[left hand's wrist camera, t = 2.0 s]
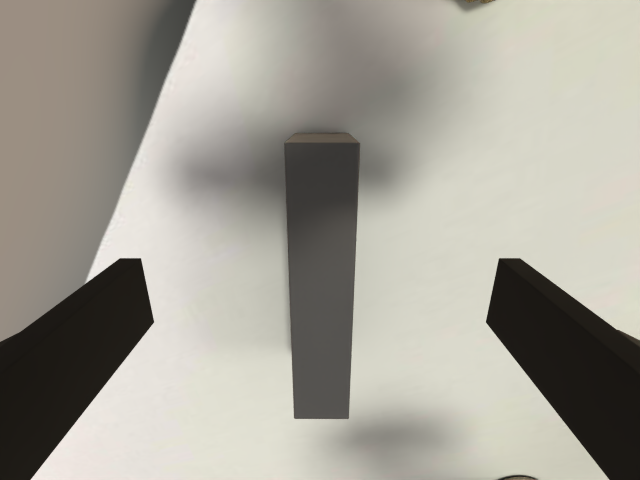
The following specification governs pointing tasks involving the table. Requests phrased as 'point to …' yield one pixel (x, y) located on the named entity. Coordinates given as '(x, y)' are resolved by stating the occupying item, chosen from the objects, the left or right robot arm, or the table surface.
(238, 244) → the table surface
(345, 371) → the bar
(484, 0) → the sculpture
